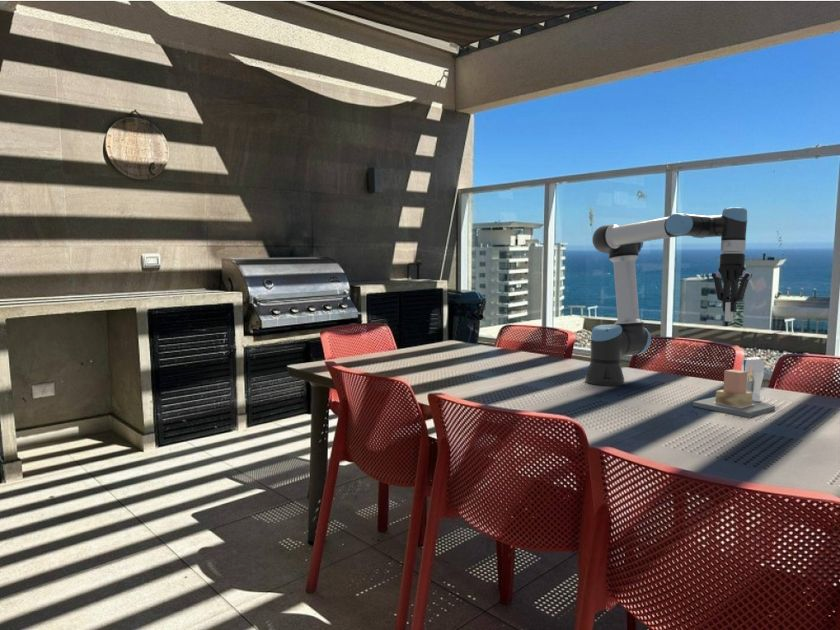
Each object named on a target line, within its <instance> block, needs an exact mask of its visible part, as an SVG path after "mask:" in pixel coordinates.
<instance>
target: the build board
mask: <svg viewBox="0 0 840 630" xmlns="http://www.w3.org/2000/svg"><path fill="white" fill-rule="evenodd" d="M715 400H716V396H714V397H709V398H704V399H698V400H695V401H692V407H695V408H699V409H700V408H701V409H704V410H710V411H714V412H720V413H724V414H729V415H734V416H739V417H744V418H748V419H749V418H752V417H756V416H759V415H762V414H766V413H767V414H768V413H771V412H773V411H776V410H775V409H776V407H775V406H776V405H771V404H766V403H761V402H752V405H748V406H744V407H735V406H730V405H725V404H720V403H715Z"/></svg>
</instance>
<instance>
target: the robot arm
mask: <svg viewBox="0 0 840 630" xmlns="http://www.w3.org/2000/svg"><path fill="white" fill-rule="evenodd" d="M747 226H748V210H747V209H746V208H744V207H735V206H734V207H727V208H724V209H723V210H722V213H721V214H719V215H702V214H690V213H684V212H679V213H672V214H671V215H669V216H665V217H659V218H656V219H655V218H654V219H650V220H643V221H638V222H633V223H628V224H623V225H622V224H621V225H618V224H613V223H612V224H606V225H602V226H600V227H598V228H597V229H596V230H595V231H593V235H592V241H591V242H592V245H593V247H594V249H595V250H596V251H598V252H600V253H603V254H606V255H607V254H608V260H609V261H610V262H612V264H613V274H614V275H613V276H614V288H615V289H614V291H615V302H616V304H615V305H616V316H617V317H616V318H617V320H616V321H615V322H614V323H613V324H611V323H610V324H600V325H596V326H594V327H593V328H592V329H591V335H590V361H589V362H590V363H589V366H588V368H587V371H586V374H585V378H584V380H585V383H588V384H590V385H591V384H592V385H596V386H604V387H605V386H607V387H615V386H616V387H618V386H623V385H625V377H624V374H623V373H624V372H623V370H622V365H621V363H622V362H621V360H622V359H621V357H623V356H638V355H642V354H644V353H645V352H646V351H648V349H649V348H650V346H651V343H652V342H651V341H652V335H651V333H650V331H648V329H647V328H646V327H645V324H644V321H643V320H642V319H640V311H639V309H640V308H639V296H638V283H637V270H636V261H637V259H638V258H639V253H640V252H641V251H642V248H644V247H643V246H644V242H649V241H656V240H662V239H670V238H677V237H685V236H686V237H692V238H697V239H704V238H714V237H717V238H718V237H720V239H721V241H720V255H719V267H718V270H717V271H715V272H712V273H711V277H712V278H713V281H714V288H715V292H716V297H717V300H718V301H721V302H722V312H724V322H733V321H734V313H735V312H736V311H737V303H738V302H742V301H743V299H744V296H745V294H746V290H747V288H748V284H749V281H750V279H751V278H752V277H753V274H752V273H750V272H748V271H746V268H745V263H746V261H745V260H746V259H745V258H746V254H745V252H746V242H747V241H746V239H747ZM721 277H722V278H721ZM740 279H741V280H740ZM722 282H723V284H722Z"/></svg>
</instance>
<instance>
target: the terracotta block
mask: <svg viewBox="0 0 840 630" xmlns="http://www.w3.org/2000/svg"><path fill="white" fill-rule="evenodd" d="M723 373H724V374H723V375H724V377H723V389H722V390H723V391H724V392H730V393H735V394H742V393H746V388H747V371H741V370H739V369H726V370H724V372H723Z"/></svg>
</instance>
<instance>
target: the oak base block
mask: <svg viewBox="0 0 840 630" xmlns="http://www.w3.org/2000/svg"><path fill="white" fill-rule="evenodd" d="M715 397H716V400H715V403H720V404H725V405H730V406H735V407H744V406H748V405H752V392H746V393H742V394H735V393H730V392H724V391H723V389H718V390H716V391H715Z"/></svg>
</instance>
